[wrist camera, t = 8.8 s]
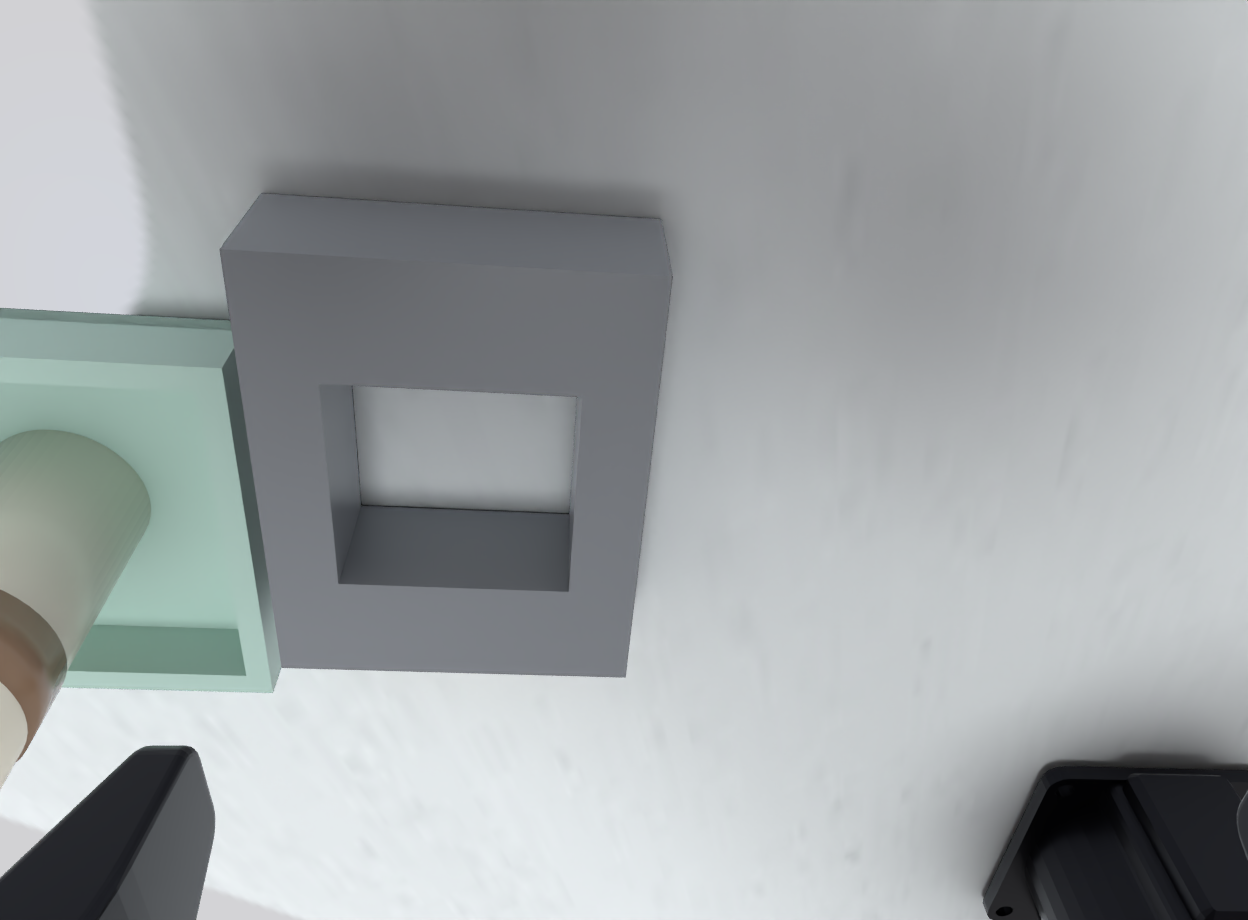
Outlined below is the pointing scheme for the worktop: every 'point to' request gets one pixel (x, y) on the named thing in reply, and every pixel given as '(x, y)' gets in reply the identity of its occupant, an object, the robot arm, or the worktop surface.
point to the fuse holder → (458, 361)
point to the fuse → (56, 565)
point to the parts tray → (158, 491)
